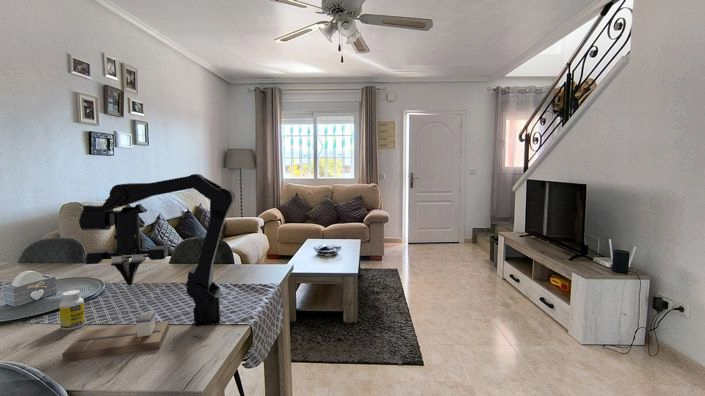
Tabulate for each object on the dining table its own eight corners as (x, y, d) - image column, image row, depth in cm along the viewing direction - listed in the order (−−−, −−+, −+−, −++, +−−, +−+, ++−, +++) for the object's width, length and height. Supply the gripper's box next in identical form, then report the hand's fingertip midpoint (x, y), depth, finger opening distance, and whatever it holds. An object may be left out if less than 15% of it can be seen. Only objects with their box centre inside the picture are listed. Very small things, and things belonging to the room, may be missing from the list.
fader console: (169, 328, 99) (168, 320, 99) (159, 349, 88) (159, 341, 88) (84, 338, 93) (84, 330, 93) (62, 361, 82) (62, 353, 82)
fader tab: (155, 326, 95) (155, 311, 95) (151, 335, 90) (150, 319, 90) (142, 328, 94) (141, 312, 94) (136, 337, 89) (135, 320, 89)
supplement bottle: (71, 331, 97) (69, 296, 96) (55, 329, 98) (53, 295, 97) (90, 323, 102) (88, 289, 101) (74, 321, 103) (72, 288, 103)
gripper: (170, 223, 108) (172, 273, 109) (99, 226, 103) (102, 279, 104) (162, 229, 97) (165, 285, 99) (82, 233, 92) (86, 292, 93)
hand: (130, 284), depth 99 cm, fingers closed
